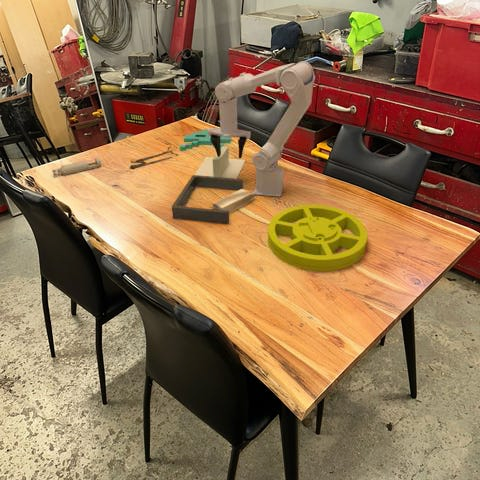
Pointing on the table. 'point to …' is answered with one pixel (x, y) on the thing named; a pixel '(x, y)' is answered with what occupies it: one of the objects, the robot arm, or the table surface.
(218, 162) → the sage board
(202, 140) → the alien figure
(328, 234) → the pulley
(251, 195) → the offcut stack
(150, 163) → the hacksaw
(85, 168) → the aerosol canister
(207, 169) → the rubber mat
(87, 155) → the table surface
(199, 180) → the offcut rack
